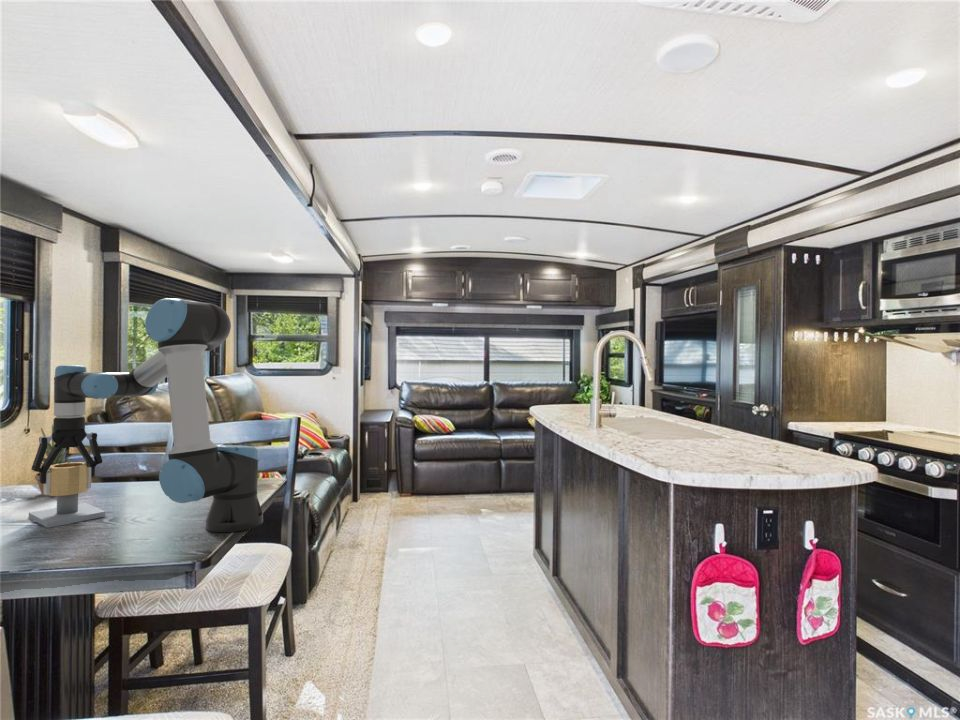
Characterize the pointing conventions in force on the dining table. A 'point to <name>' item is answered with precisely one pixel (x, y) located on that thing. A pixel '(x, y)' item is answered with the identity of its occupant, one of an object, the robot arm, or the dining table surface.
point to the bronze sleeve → (68, 478)
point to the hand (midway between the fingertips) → (67, 491)
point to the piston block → (66, 512)
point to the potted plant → (56, 461)
